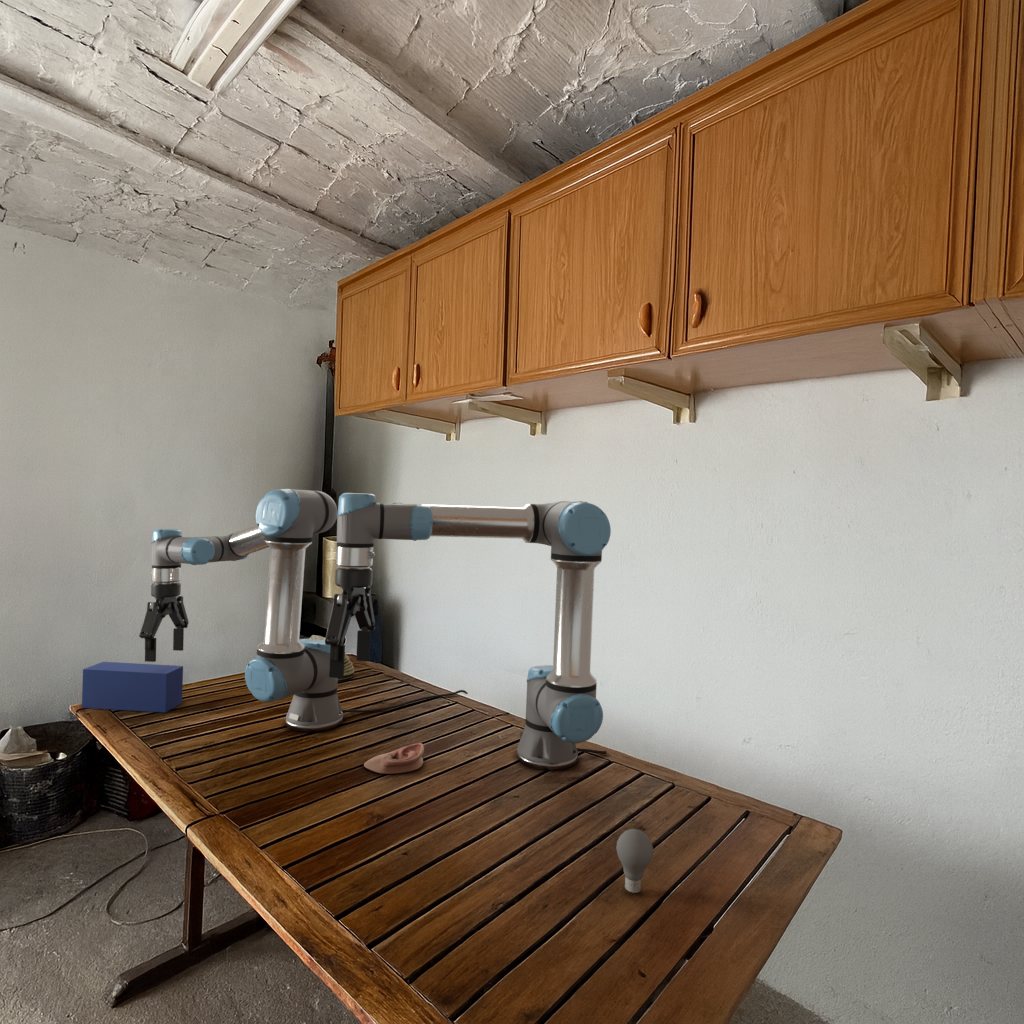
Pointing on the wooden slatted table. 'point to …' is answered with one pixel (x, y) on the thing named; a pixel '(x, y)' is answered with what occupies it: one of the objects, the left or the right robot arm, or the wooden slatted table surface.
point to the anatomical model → (397, 760)
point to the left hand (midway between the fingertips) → (164, 655)
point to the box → (132, 686)
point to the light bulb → (634, 857)
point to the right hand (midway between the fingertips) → (350, 668)
